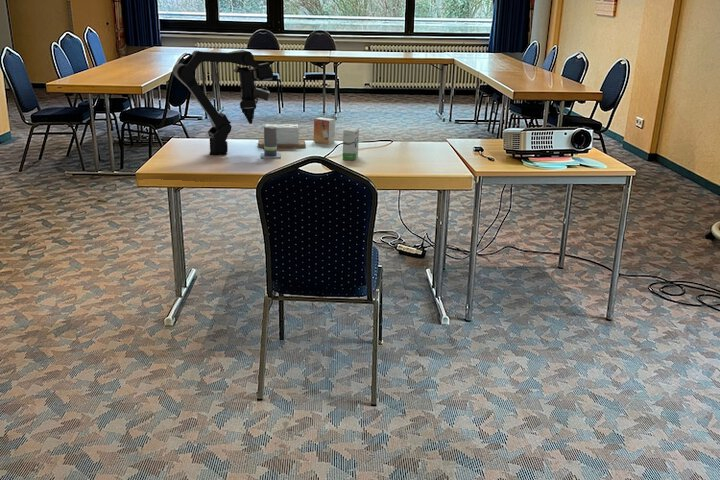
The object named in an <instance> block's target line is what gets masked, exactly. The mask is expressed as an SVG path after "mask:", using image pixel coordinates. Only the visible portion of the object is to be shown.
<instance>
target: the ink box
mask: <svg viewBox="0 0 720 480" xmlns="http://www.w3.org/2000/svg"><path fill="white" fill-rule="evenodd" d="M359 138H360V128H359V127H358V128H357V127H350V126H348V127H346V128H344V129H343V135H342V160H346V161H356V159H357V158H358V156H359V141H360V140H359Z"/></svg>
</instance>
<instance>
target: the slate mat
mask: <svg viewBox="0 0 720 480" xmlns="http://www.w3.org/2000/svg"><path fill="white" fill-rule="evenodd" d="M281 154H282V153H281V152H277V155H276V156H265V155H264V152H260V159H281V158H282V155H281Z"/></svg>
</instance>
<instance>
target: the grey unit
mask: <svg viewBox="0 0 720 480" xmlns="http://www.w3.org/2000/svg"><path fill="white" fill-rule="evenodd" d="M264 127H276V128H277V149H281V148H282V149H297V148H298V149H306V148H307V144H306V140H305V139H299V137H300V136H299V133H300V132H299V130H300V129H299V125H298V123H297V124H295V123H294V124H293V123H288V124H287V123H285V124H284V123H265V126H264ZM257 147H258V148H259V149H261V148H263V149H264V139H258V145H257Z"/></svg>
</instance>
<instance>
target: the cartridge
mask: <svg viewBox="0 0 720 480" xmlns="http://www.w3.org/2000/svg"><path fill="white" fill-rule="evenodd" d="M263 140H264V148H263V153H264V155H265V156H276V155H277V153H278V148H277V128H276V127H265V126H264V127H263Z"/></svg>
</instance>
